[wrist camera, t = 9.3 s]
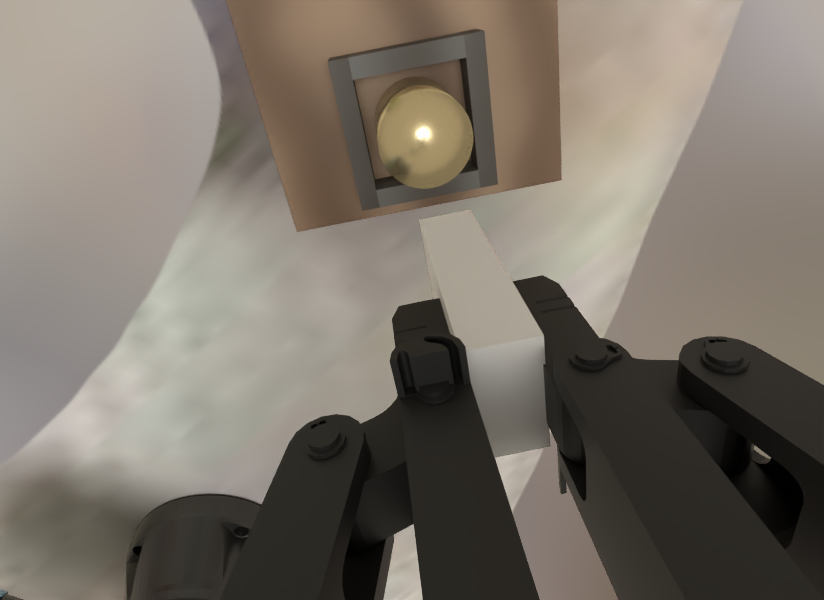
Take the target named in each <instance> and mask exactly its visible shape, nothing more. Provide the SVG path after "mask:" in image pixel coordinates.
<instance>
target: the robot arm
mask: <svg viewBox="0 0 824 600" xmlns="http://www.w3.org/2000/svg"><path fill="white" fill-rule="evenodd" d="M419 223H420V229H421V234H422V240H423V245H424V251H425V256H426V262H427V267H428V273H429V279H430V284H431V290H432V295H433V299H432V300H427V301H422V302H417V303H412V304H407V305H402V306H399V307H398V309H397V311H396V313H395V315H394V316H393V318H392V323H393V331H394V339H395V347H396V348H395V349H394V350H393V352H392V354H391V358H390V364H391V368H392V372H393V376H394V381H395V385H396V389H397V393H398V396H397V399H396V400H395V401H394V403H393V404H392V405H391V406H390V407H389V408H388V409H387V410H385V411H384V412H383V413H381V414H380V415H378V416H376V417H374V418H372V419H370V420H368V421H366V422H364V423H362V424H360V423H359V421H357V420H355V419H353V418H352V417H350V416H346V415H338V414H335V415H329V416H323V417H320V418H318V419H316V420H313V421H311V422H309V423H307V424H306V425H305V426H304V427H302V428H301V429H300V430H299V431H297V432H296V434H295V435H294V437H293V438H292V440H291V441H290V443H289V445H288V447H287V449H286V451H285V454H284V456H283V458H282V460H281V463H280V465H279V467H278V469H277V472H276V474H275V476H274V478H273V480H272V483H271V485H270V487H269V489H268V492H267V494H266V496H265V498H264V501H263V503H262V505H261V506H259V505H257V504H255V503H252V502H249V501H246V500H243V499H238V498H234V497H227V496H217V495H203V496H192V497H186V498H182V499H178V500H175V501H172V502H169V503H167V504H164V505H162V506H160V507H158V508H157V509H155V510H154V511H152V512H151V513H150V514H148V515H147V516H146V517H145V518H144V519H143V521H142V522H141V523H140V525H139V526H138V528H137V531H136V533H135V536H134V538H133V540H132V543H131V545H130V548H129V551H128V555H127V564H126V583H125V600H383V598H384V593H385V587H386V582H387V576H388V571H389V565H390V559H391V554H392V548H393V543H394V534H396V533H397V532H399V531H401V530H403V529H405V528H407V527H408V526H410V525H412V524H414V529H415V537H416V546H417V554H418V562H419V571H420V579H421V588H422V596H423V600H540V599H539V596H538V593H537V590H536V587H535V584H534V580H533V577H532V574H531V571H530V568H529V565H528V562H527V559H526V555H525V552H524V550H523V546H522V543H521V539H520V536H519V533H518V530H517V527H516V524H515V521H514V518H513V514H512V511H511V508H510V505H509V502H508V499H507V495H506V492H505V489H504V486H503V483H502V480H501V476H500V473H499V470H498V467H497V464H496V461H495V457H500V456H505V455H509V454H514V453H519V452H524V451H529V450H534V449H539V448H544V447H549V446H550V432H549V428H550V430H551V432H552V434H553V437H554V439H555V441H556V443H557V448H558V449H557V451H558V471H559V486H560V492H561V494H563V493H566V483H567V485H568V487H569V489H570V492H571V494H572V496H573V498H574V501H575V503H576V505H577V507H578V510H579V512H580V514H581V516H582V519H583V521H584V523H585V525H586V528H587V530H588V532H589V534H590V536H591V539H592V541H593V543H594V546H595V548H596V550H597V552H598V555H599V557H600V559H601V561H602V564H603V566H604V568H605V570H606V573H607V575H608V577H609V579H610V582H611V584H612V586H613V588H614V590H615V593H616V595H617V597H618V600H824V385H822V384H821V383H819V382H817V381H815V380H814V379H812V378H810V377H808V376H807V375H804V374H803V373H801V372H799V371H798V370H796V369H794V368H792V367H791V366H789V365H787V364H785V363H784V362H782V361H780V360H778V359H776V358H775V357H773V356H771V355H770V354H768V353H766V352H764V351H763V350H761V349H759V348H757V347H756V346H753V345H751V344H748V343H746V342H744V341H741V340H737V339H732V338H727V337H703V338H699V339H694V340H692V341H690V342H689V343H687V344H686V345H684V346H683V348H682V350H681V352H680V354H679V360H644V359H635V358H632V357H631V355H630V354H629V353H628V352H627V351H626V350H625V349H624V348H623V347H622V346H620V345H619V344H617V343H615V342H612V341H610V340H607V339H603V338H599V337H598V336H597V334H596V333H595V332H594V330H593V329H592V328H591V326H590V325H589V324H588V322H587V321H586V320H585V318H584V317H583V316H582V314H581V313H580V312H579V310H578V309H577V308H576V307H575V306H574V304H573V302H572V301H571V300H570V298H569V297H567V294H566V293H565V292H564V290H563V289H562V288H561V286H560V285H559V284H558V283H556V282H554V281H553V280H551V279H549V278H547V277H545V276H543V275H542V276H537V277H532V278H527V279H523V280H518V281H512V280H511V278H510V276H509V275H508V273H507V271H506V269H505V268H504V266H503V264H502V263H501V261H500V259H499V257H498V256H497V254H496V252H495V251H494V249H493V247H492V245H491V244H490V242H489V240H488V239H487V237H486V235H485V233H484V232H483V230H482V228H481V227H480V225H479V223H478V221H477V220H476V218H475V216H474V215H473V213H472V211H471V209H469V210H464V211H459V212H454V213H449V214H444V215H440V216H435V217H430V218H425V219H420V220H419ZM754 445H755V446H757V447H758V448H759V449H761V450H762V451H763V452H765V453H766V454H767V455H769V456H770V457H771V459H768V458H766V457H764V456H762V455H760V454H759V453H758V452H756V451H755V450H754ZM7 593H8V592H7V591H5V590H0V600H23V599H20V598H17V597H14V596H11V595H8V594H7Z"/></svg>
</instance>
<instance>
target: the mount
mask: <svg viewBox="0 0 824 600" xmlns="http://www.w3.org/2000/svg"><path fill="white" fill-rule="evenodd" d="M226 2H227V5H228V8H229V12H230V15H231V18H232V21H233V25H234V28H235V31H236V35H237V38H238V41H239V44H240V48H241V51H242V54H243V57H244V61H245V64H246V67H247V70H248V74H249V77H250V80H251V83H252V87H253V90H254V93H255V96H256V100H257V103H258V106H259V110H260V113H261V116H262V119H263V123H264V126H265V129H266V132H267V136H268V139H269V142H270V145H271V149H272V152H273V155H274V158H275V162H276V165H277V168H278V171H279V175H280V178H281V181H282V185H283V188H284V191H285V194H286V198H287V201H288V204H289V207H290V211H291V214H292V217H293V220H294V224H295V227H296V230H297V232H299V231H304V230H309V229H314V228H319V227H324V226H329V225H335V224H340V223H345V222H350V221H355V220H360V219H365V218H370V217H375V216H381V215H386V214H391V213H396V212H401V211H406V210H411V209H416V208H421V207H427V206H432V205H437V204H442V203H447V202H452V201H457V200H462V199H467V198H472V197H478V196H483V195H488V194H493V193H498V192H503V191H508V190H513V189H518V188H524V187H529V186H534V185H539V184H544V183H549V182H554V181H559V180H561V138H560V97H559V55H558V13H557V0H226ZM408 77H424V78H427V79H430V80H433V81H435V82H436V83H438V84H439V85H440V86H442V87H443V88H444V89H445V90H446V91H447V92H448V93H449V94H450V95H451V96H452V97H453V98H454V99H455V100H456V101H457V102H458V103H459V104H460V105H461V106H462V107H463V109H464V110H465V111H466V113H467V115H468V117H469V119H470V122H471V125H472V129H473V147H472V152H471V155H470V157H469V160H468V162H467V164H466V165H465V167H464V168H463V169H462V171H461V172H460V173H459V174H458V175H457V176H456V177H455V178H453V179H452V180H451V181H449V182H447V183H445V184H443V185H441V186H438V187H434V188H428V189H420V188H414V187H410V186H407V185H405V184H403V183H401V182H399V181H398V180H397V179H395V178H394V177H393V176H392V175H391V174H390V173H389V172H388V170H387V169H386V168H385V166H384V164H383V162H382V160H381V157H380V154H379V149H378V142H377V135H376V128H375V112H376V108H377V105H378V102H379V100H380V98H381V96H382V95H383V94H384V92H385V91H386V90H387V89H388V88H389V87H390V86H391V85H393V84H394V83H396V82H397V81H399V80H402V79H405V78H408Z"/></svg>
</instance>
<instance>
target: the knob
mask: <svg viewBox="0 0 824 600" xmlns="http://www.w3.org/2000/svg"><path fill="white" fill-rule="evenodd" d="M375 128H376V135H377V142H378V149H379V154H380V157H381V160H382V162H383V164H384V166H385V168H386V169H387V170H388V172H389V173H390V174H391V175H392V176H393V177H394V178H395V179H397V180H398V181H399V182H401V183H403V184H405V185H407V186H410V187H414V188H420V189H428V188H434V187H438V186H441V185H443V184H445V183H447V182H449V181H451V180H452V179H453V178H455V177H456V176H457V175H458V174H459V173H460V172H461V171H462V169H463V168H464V167H465V165H466V164H467V162H468V160H469V157H470V155H471V152H472V147H473V129H472V125H471V122H470V119H469V117H468V115H467V113H466V111H465V110H464V109H463V107H462V106H461V105H460V104H459V103H458V102H457V101H456V100H455V99H454V98H453V97H452V96H451V95H450V94H449V93H448V92H447V91H446V90H445V89H444V88H443V87H442V86H440V85H439V84H438V83H436V82H435V81H433V80H430V79H427V78H424V77H408V78H405V79H402V80H399V81H397V82H396V83H394V84H393V85H391V86H390V87H389V88H388V89H387V90H386V91H385V92H384V94H383V95H382V96H381V98H380V100H379V102H378V105H377V108H376V112H375Z"/></svg>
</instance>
